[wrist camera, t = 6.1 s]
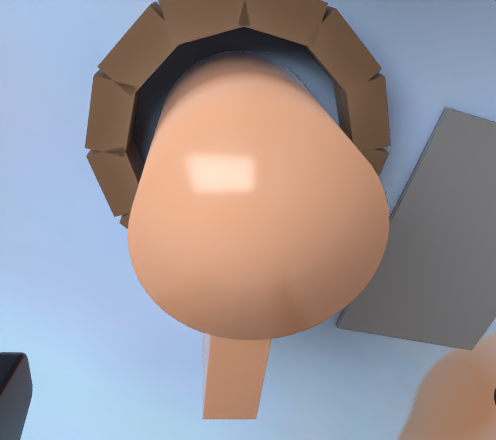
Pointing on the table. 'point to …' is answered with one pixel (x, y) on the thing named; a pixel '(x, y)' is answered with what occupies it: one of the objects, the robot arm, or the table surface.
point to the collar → (207, 24)
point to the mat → (439, 244)
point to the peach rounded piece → (252, 218)
